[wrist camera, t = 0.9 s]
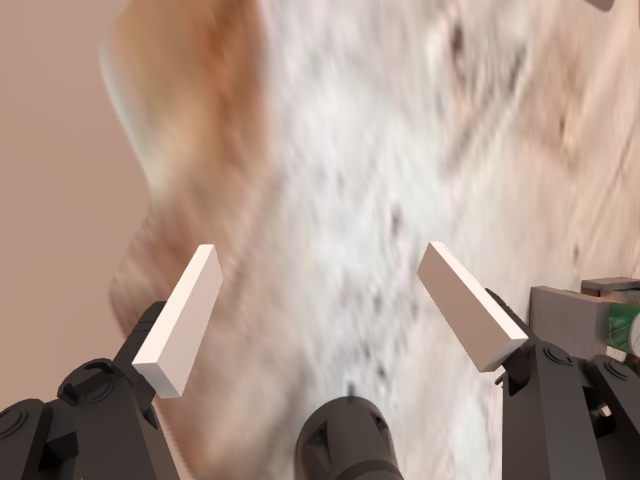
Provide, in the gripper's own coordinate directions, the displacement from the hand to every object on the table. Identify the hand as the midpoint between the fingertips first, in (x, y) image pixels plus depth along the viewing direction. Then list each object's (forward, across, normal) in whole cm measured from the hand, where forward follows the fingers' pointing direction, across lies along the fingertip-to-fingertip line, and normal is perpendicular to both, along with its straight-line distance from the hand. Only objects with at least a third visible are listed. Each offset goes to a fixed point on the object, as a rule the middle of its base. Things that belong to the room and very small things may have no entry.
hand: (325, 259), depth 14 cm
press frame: (+14, -56, +26) cm, 64 cm away
